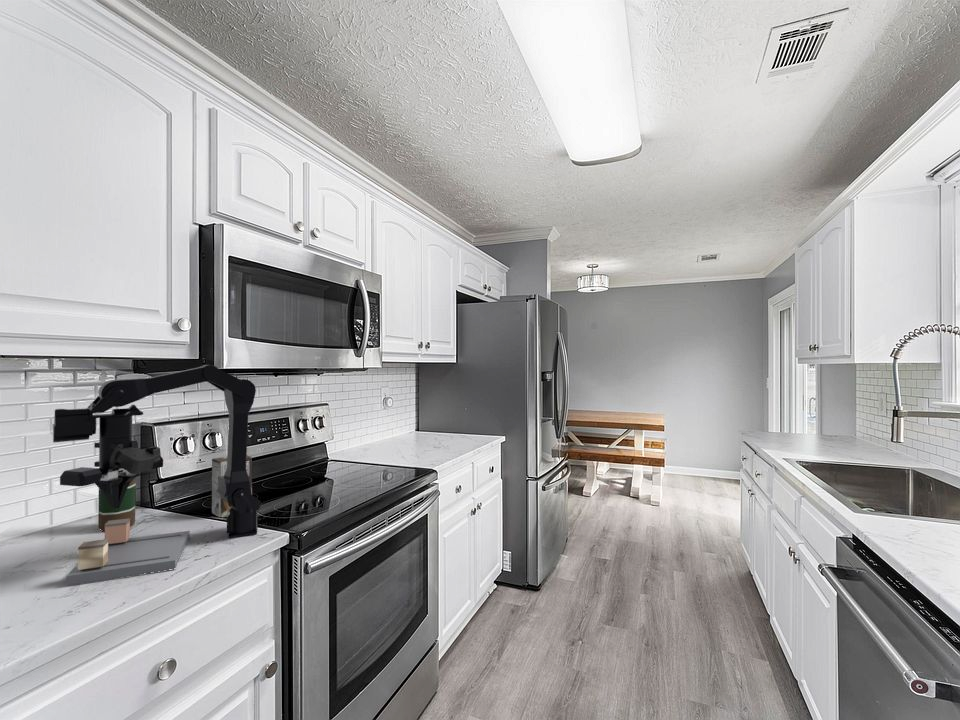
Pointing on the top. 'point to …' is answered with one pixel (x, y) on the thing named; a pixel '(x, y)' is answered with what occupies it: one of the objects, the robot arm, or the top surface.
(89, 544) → the block
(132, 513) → the beer bottle
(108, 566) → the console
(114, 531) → the block
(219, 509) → the coffee box
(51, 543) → the top surface
